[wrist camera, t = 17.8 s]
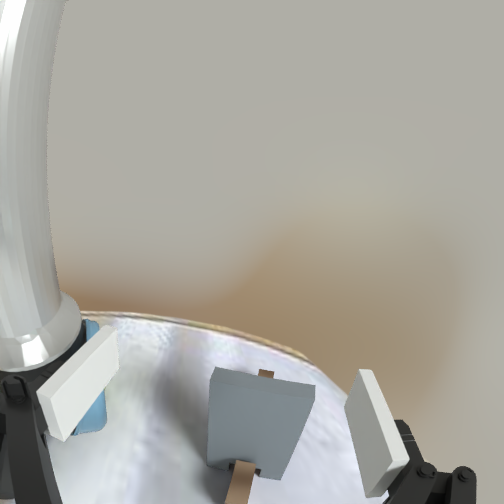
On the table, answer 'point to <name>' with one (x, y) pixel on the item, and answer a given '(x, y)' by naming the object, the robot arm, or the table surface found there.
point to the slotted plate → (255, 420)
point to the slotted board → (243, 471)
